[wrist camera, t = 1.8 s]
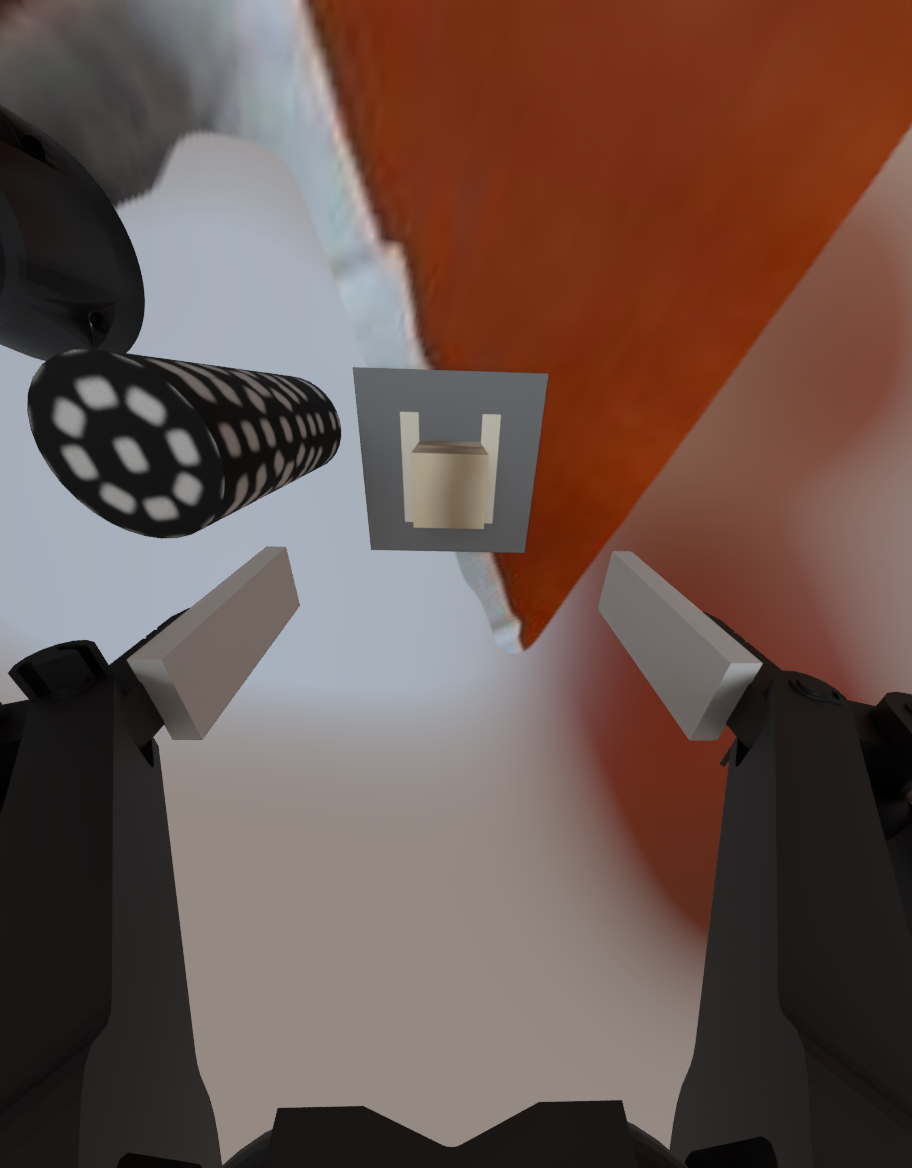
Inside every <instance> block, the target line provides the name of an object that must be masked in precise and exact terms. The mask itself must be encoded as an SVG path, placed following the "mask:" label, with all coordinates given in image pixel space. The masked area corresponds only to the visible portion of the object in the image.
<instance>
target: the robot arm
mask: <svg viewBox="0 0 912 1168" xmlns="http://www.w3.org/2000/svg"><path fill="white" fill-rule="evenodd" d="M144 308H145V298H144V286H143V280H142V275H141V270H140V266H139V263H138V259H137V256H136V253H135V251H134V248H133V245H132V243H131V240H130V238H129V236H128V233H127V232H126V229H125V227H124V225H123V223H122V221H121V220H120V218H119V216H118V214H117V212H116V211H115V209H114V207H113V206H112V204H111V203H110V201H109V200H108V198H107V197H106V195H105V194H104V192H103V191H102V190H101V188H100V187H99V186H98V184H97V183H96V182H95V180H94V179H93V178H92V177H91V176H90V175H89V173H88V172H87V171H86V170H85V169H84V168H83V167H82V166H81V164H80V163H79V162H78V161H77V160H76V159H75V158H74V157H73V156H72V155H71V154H69V153H68V152H67V151H66V150H65V149H64V148H63V147H62V146H60V145H59V144H58V143H57V142H55V141H54V140H53V139H52V138H50V137H49V136H47V135H46V134H45V133H43V132H42V131H40V130H39V129H37V128H36V127H34V126H33V125H31V124H29V123H28V122H26V121H25V120H23V119H22V118H20V117H19V116H17V115H16V114H14V113H12V112H11V111H9V110H8V109H6V108H5V107H3V106H1V105H0V344H1V345H3V346H6V347H8V348H11V349H13V350H16V351H18V352H21V353H23V354H26V355H28V356H31V357H34V358H37V359H41V360H45V361H47V360H49V359H50V358H52V357H53V356H55V355H56V354H60V353H63V352H66V351H69V350H73V349H98V350H105V351H112V352H119V353H127V352H128V351H129V350H130V348H131V347H132V346H133V344H134V343H135V341H136V339H137V337H138V335H139V333H140V330H141V327H142V323H143V318H144ZM299 606H300V604H299V600H298V596H297V591H296V588H295V583H294V579H293V574H292V571H291V566H290V562H289V558H288V553H287V549H286V547H266V548H264V549H263V550H262V551H261V552H259V553H258V554H257V555H256V556H254V557H253V558H252V559H251V560H249V561H248V562H247V563H246V564H245V565H243V566H242V567H241V568H239V569H238V570H237V571H236V572H234V573H233V574H232V575H231V576H230V577H228V578H227V579H226V580H225V581H223V582H222V583H221V584H220V585H218V586H217V587H216V588H215V589H213V590H212V591H211V592H210V593H209V594H207V595H206V596H205V597H203V598H202V599H201V600H200V601H199V602H197V603H196V604H195V605H194V606H192V607H191V608H188V609H186V610H184V611H182V612H180V613H178V614H176V615H174V616H172V617H170V618H169V619H168V620H167V621H165V622H164V623H163V624H161V625H160V626H159V627H158V628H157V630H154V631H152V632H151V633H150V634H149V635H147V636H146V639H142V640H141V641H140V642H138V643H137V644H136V645H135V646H133V647H132V648H131V649H129V650H128V651H127V652H125V653H124V654H123V655H122V656H121V657H119V658H118V659H117V660H115V661H114V662H113V663H111V664H110V665H108V663H107V662H106V660H105V659H104V657H103V655H102V654H101V652H100V650H99V649H98V647H97V646H96V644H95V642H92V641H88V640H78V641H71V642H66V643H62V644H57V645H54V646H52V647H49V648H46V649H43V650H40V651H38V652H36V653H34V654H32V655H30V656H28V657H26V658H24V659H23V660H21V661H20V662H19V663H17V664H15V665H14V666H13V667H12V669H11V670H10V671H9V673H8V674H9V675H10V677H11V678H12V679H13V680H14V681H15V683H16V684H17V685H18V686H19V688H20V689H21V690H22V691H23V693H24V694H25V695H26V696H27V697H28V699H29V700H24V701H19V702H14V703H9V704H4V705H2V703H1V702H0V1168H912V695H911V694H906V693H900V692H892V693H887V694H886V695H885V696H884V697H883V699H882V700H881V701H880V702H879V703H878V704H877V705H876V706H872V705H868V704H863V703H858V702H853V701H849V700H847V699H846V698H845V696H843V695H842V694H841V693H840V692H839V691H837V690H836V689H835V688H833V687H832V686H830V685H828V684H827V683H825V682H823V681H821V680H819V679H817V678H814V677H812V676H809V675H806V674H803V673H799V672H795V671H782V670H781V669H780V668H778V667H777V666H776V665H775V664H774V663H772V662H771V661H770V660H769V659H767V658H766V657H765V656H764V655H763V654H761V653H760V652H759V651H757V650H756V649H755V648H754V647H753V646H751V645H750V644H749V643H748V642H745V640H744V639H743V638H742V637H741V636H739V635H738V634H737V633H734V631H733V630H732V629H731V628H730V627H728V626H727V625H726V624H725V623H723V622H722V621H721V620H719V619H717V618H715V617H713V616H712V615H710V614H708V613H706V612H702V611H701V610H699V609H698V608H697V607H696V606H694V604H692V603H691V602H690V601H689V600H688V599H686V598H685V597H684V596H683V595H682V594H681V593H679V592H678V591H677V590H676V589H675V588H673V587H672V586H671V585H670V584H669V583H668V582H666V581H665V580H664V579H663V578H662V577H661V576H659V575H658V574H657V573H656V572H655V571H653V570H652V569H651V568H650V567H649V566H648V565H646V564H645V563H644V562H643V561H642V560H640V559H639V558H638V557H637V556H636V555H634V554H633V553H632V552H627V551H621V552H620V551H613V552H612V555H611V559H610V563H609V567H608V570H607V574H606V578H605V582H604V586H603V590H602V593H601V598H600V602H599V605H598V610H599V611H600V613H601V614H602V616H603V617H604V618H605V620H606V621H607V622H608V624H609V626H610V627H611V628H612V630H613V631H614V633H615V634H616V635H617V637H618V638H619V639H620V641H621V643H622V644H623V646H624V647H625V648H626V650H627V651H628V652H629V654H630V656H631V657H632V658H633V660H634V661H635V662H636V664H637V665H638V667H639V668H640V670H641V671H642V673H643V674H644V676H645V677H646V678H647V680H648V681H649V683H650V684H651V686H652V687H653V689H654V690H655V691H656V693H657V694H658V696H659V697H660V698H661V700H662V701H663V703H664V704H665V706H666V707H667V709H668V710H669V711H670V713H671V714H672V716H673V717H674V718H675V720H676V721H677V723H678V724H679V726H680V727H681V729H682V730H683V731H684V733H685V734H686V736H687V737H688V738H689V740H718V738H719V736H720V734H721V733H722V731H723V730H724V728H725V726H726V725H727V726H728V727H729V728H730V729H731V730H732V731H733V733H734V734H735V735H736V736H737V737H736V738H735V740H734V742H733V743H732V745H731V746H730V748H729V749H728V751H727V753H726V754H725V756H724V757H723V759H722V761H721V762H720V765H722V766H725V765H726V764H727V762H729V767H728V775H727V783H726V791H725V800H724V808H723V817H722V825H721V834H720V842H719V850H718V859H717V867H716V876H715V884H714V892H713V901H712V909H711V918H710V926H709V934H708V943H707V951H706V959H705V968H704V976H703V984H702V993H701V1001H700V1010H699V1019H698V1026H697V1035H696V1043H695V1049H694V1055H693V1058H692V1062H691V1066H690V1068H689V1070H688V1073H687V1075H686V1077H685V1080H684V1082H683V1084H682V1087H681V1091H680V1094H679V1098H678V1102H677V1106H676V1112H675V1117H674V1122H673V1130H672V1136H671V1144H670V1150H669V1149H667V1148H666V1147H665V1146H664V1145H662V1143H660V1142H659V1141H658V1140H656V1139H655V1138H653V1137H652V1136H650V1135H649V1134H647V1133H646V1132H644V1131H643V1130H641V1129H640V1128H638V1127H637V1126H635V1125H634V1124H631V1123H629V1122H627V1119H626V1115H625V1111H624V1107H623V1103H622V1100H612V1101H573V1102H571V1101H570V1102H538V1103H537V1104H535V1105H533V1106H531V1107H529V1108H527V1109H526V1110H524V1111H522V1112H520V1113H518V1114H516V1115H515V1116H513V1117H511V1118H509V1119H508V1120H506V1121H504V1122H502V1123H500V1124H498V1125H496V1126H494V1127H493V1128H491V1129H489V1130H487V1131H485V1132H484V1133H482V1134H480V1135H478V1136H476V1137H475V1138H473V1139H471V1140H469V1141H467V1142H465V1143H463V1144H462V1145H459V1146H457V1147H446V1146H443V1145H441V1144H439V1143H437V1142H435V1141H433V1140H431V1139H429V1138H427V1137H425V1136H423V1135H421V1134H419V1133H417V1132H414V1131H413V1130H411V1129H409V1128H407V1127H404V1126H403V1125H401V1124H399V1123H397V1122H395V1121H392V1120H390V1119H388V1118H386V1117H384V1116H382V1115H380V1114H378V1113H376V1112H374V1111H372V1110H370V1109H368V1108H366V1107H364V1106H347V1107H307V1108H306V1107H303V1108H278V1109H277V1113H276V1118H275V1121H274V1126H273V1129H272V1130H270V1131H268V1132H266V1133H264V1134H263V1135H261V1136H260V1137H258V1138H257V1139H255V1140H254V1141H252V1142H251V1143H250V1144H248V1145H247V1146H245V1147H244V1148H242V1149H241V1150H240V1151H238V1152H237V1153H236V1154H235V1155H234V1156H233V1157H232V1158H230V1159H229V1160H228V1161H227V1162H226V1163H225V1164H224V1165H222V1162H221V1155H220V1147H219V1140H218V1133H217V1128H216V1122H215V1117H214V1112H213V1109H212V1105H211V1101H210V1098H209V1095H208V1093H207V1090H206V1088H205V1086H204V1083H203V1081H202V1078H201V1076H200V1072H199V1069H198V1065H197V1060H196V1055H195V1046H194V1038H193V1030H192V1022H191V1013H190V1005H189V996H188V988H187V981H186V971H185V963H184V955H183V946H182V938H181V930H180V921H179V913H178V905H177V896H176V888H175V880H174V872H173V864H172V856H171V847H170V838H169V830H168V821H167V813H166V805H165V796H164V788H163V780H162V771H161V763H160V755H159V747H158V744H157V743H156V741H155V739H154V738H153V737H154V735H155V734H156V733H157V732H158V731H159V730H160V729H161V727H162V726H163V725H165V727H166V729H167V730H168V732H169V734H170V736H171V737H172V739H173V740H202V739H203V738H204V737H205V735H206V734H207V733H208V731H209V730H210V729H211V727H212V726H213V724H214V723H215V722H216V720H217V719H218V718H219V716H220V715H221V713H222V712H223V711H224V709H225V708H226V707H227V705H228V704H229V702H230V701H231V700H232V698H233V697H234V696H235V694H236V693H237V691H238V690H239V689H240V687H241V686H242V685H243V683H244V682H245V680H246V679H247V678H248V676H249V675H250V674H251V672H252V671H253V669H254V668H255V667H256V665H257V664H258V663H259V661H260V660H261V658H262V657H263V656H264V654H265V653H266V652H267V650H268V649H269V647H270V646H271V645H272V643H273V642H274V641H275V639H276V638H277V636H278V635H279V634H280V632H281V631H282V630H283V628H284V627H285V625H286V624H287V623H288V621H289V620H290V619H291V617H292V616H293V614H294V613H295V612H296V610H297V609H298V607H299Z"/></svg>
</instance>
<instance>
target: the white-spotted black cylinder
mask: <svg viewBox="0 0 912 1168" xmlns="http://www.w3.org/2000/svg"><path fill="white" fill-rule="evenodd" d="M27 411H28V417H29V422H30V427H31V431H32V433H33V436H34V439H35V441H36V444H37V446H38V449H39V451H40V452H41V454H42V456H43V457H44V459H45V461H46V463H47V464H48V466H49V468H50V469H51V470H52V472H53V473H54V474H55V475H56V477H57V478H58V479H59V481H60V482H61V483H62V484H63V485H64V486H65V487H66V488H67V489H68V490H69V491H70V492H71V493H72V494H73V495H74V496H75V497H76V498H77V499H78V500H79V501H80V502H81V503H83V504H84V505H85V506H86V507H88V508H89V509H90V510H91V511H93V512H94V513H96V514H97V515H99V516H101V517H102V518H104V519H106V520H107V521H109V522H111V523H112V524H115V525H117V526H119V527H121V528H123V529H125V530H128V531H131V532H134V533H137V534H141V535H144V536H149V537H156V538H179V537H183V536H187V535H191V534H193V533H195V532H197V531H199V530H201V529H203V528H205V527H207V526H209V525H211V524H213V523H214V522H216V521H218V520H220V519H222V518H224V517H226V516H228V515H230V514H232V513H233V512H235V511H237V510H239V509H241V508H243V507H245V506H247V505H249V504H251V503H252V502H254V501H256V500H258V499H260V498H262V497H264V496H266V495H268V494H270V493H272V492H273V491H275V490H277V489H279V488H281V487H283V486H285V485H287V484H289V483H291V482H293V481H294V480H296V479H298V478H300V477H302V476H304V475H306V474H308V473H310V472H312V471H313V470H315V469H317V468H319V467H321V466H323V465H325V464H327V463H328V462H329V461H330V460H331V459H332V458H333V456H334V455H335V454H336V452H337V450H338V447H339V445H340V440H341V426H340V420H339V417H338V414H337V411H336V409H335V407H334V406H333V404H332V402H331V401H330V399H329V398H328V397H327V396H326V394H325V393H324V392H322V391H321V390H320V389H319V388H318V387H317V386H315V385H313V384H312V383H311V382H309V381H306V380H304V379H301V378H297V377H292V376H284V375H277V374H271V373H263V372H256V371H249V370H242V369H235V368H227V367H220V366H213V365H206V364H198V363H191V362H184V361H177V360H170V359H162V358H154V357H148V356H140V355H134V354H126V353H119V352H112V351H105V350H98V349H73V350H69V351H66V352H63V353H60V354H56V355H55V356H53V357H52V358H50V359H49V360H47V361H46V362H45V363H43V364H42V365H41V367H40V368H39V369H38V371H37V372H36V374H35V375H34V376H33V379H32V382H31V385H30V388H29V392H28V410H27Z"/></svg>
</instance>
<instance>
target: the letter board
mask: <svg viewBox="0 0 912 1168" xmlns="http://www.w3.org/2000/svg"><path fill="white" fill-rule="evenodd" d="M353 374H354V384H355V394H356V404H357V413H358V423H359V433H360V443H361V453H362V463H363V473H364V483H365V493H366V502H367V512H368V522H369V532H370V542H371V550H409V551H410V550H411V551H412V550H415V551H461V552H513V553H525V545H526V538H527V530H528V523H529V515H530V508H531V501H532V493H533V486H534V478H535V471H536V463H537V456H538V448H539V441H540V433H541V426H542V418H543V411H544V403H545V396H546V388H547V381H548V374H541V373H510V372H479V371H448V370H417V369H386V368H354V367H353ZM420 440H430V441H467V442H480V443H481V444H482V446H483V447H484V449H485V450H486V452H487V453H488V454H489V459H488V474H487V488H486V503H485V517H484V529H458V528H414V526H413V497H412V468H411V452H412V451H413V449H414V448H415V447H416V445H417V444H418V443H419V441H420Z"/></svg>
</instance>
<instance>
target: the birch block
mask: <svg viewBox="0 0 912 1168" xmlns="http://www.w3.org/2000/svg"><path fill="white" fill-rule="evenodd" d="M488 459H489V454H488V453H487V452H486V450H485V449H484V447H483V446H482V444H481V443H480V442H467V441H430V440H420V441H419V443H418V444H417V445H416V447H415V448H414V449H413V451H412V452H411V468H412V497H413V526H414V528H458V529H484V517H485V503H486V488H487V474H488Z"/></svg>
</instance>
